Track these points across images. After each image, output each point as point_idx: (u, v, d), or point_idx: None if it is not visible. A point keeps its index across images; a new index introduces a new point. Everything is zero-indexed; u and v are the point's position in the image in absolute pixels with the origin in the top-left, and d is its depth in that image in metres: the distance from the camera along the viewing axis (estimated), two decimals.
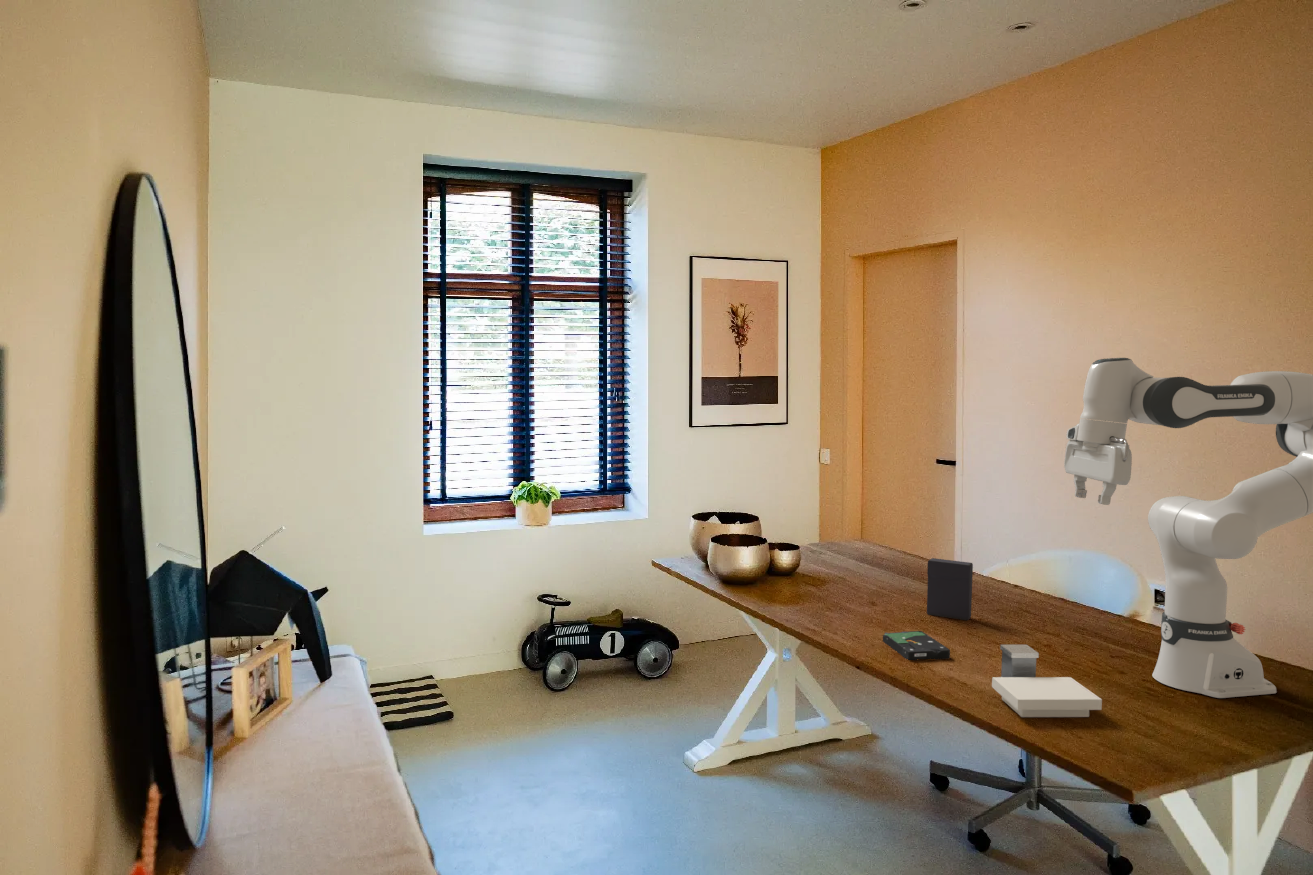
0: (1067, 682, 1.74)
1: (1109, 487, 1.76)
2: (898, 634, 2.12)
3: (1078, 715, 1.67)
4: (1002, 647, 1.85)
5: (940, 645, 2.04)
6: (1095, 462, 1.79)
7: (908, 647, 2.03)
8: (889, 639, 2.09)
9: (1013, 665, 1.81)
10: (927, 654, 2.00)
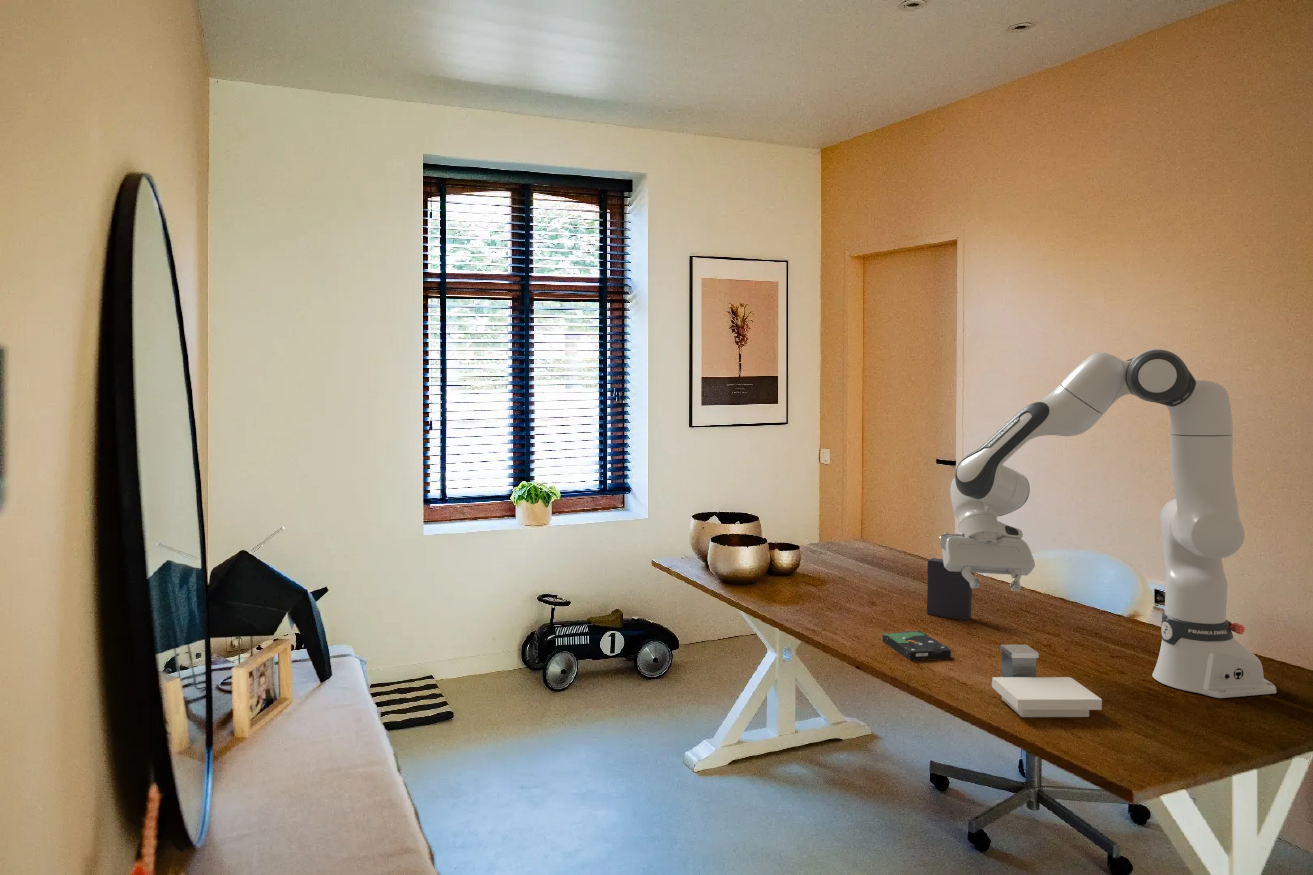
0: (1067, 682, 1.74)
1: (963, 572, 1.95)
2: (898, 634, 2.12)
3: (1078, 715, 1.67)
4: (1002, 647, 1.85)
5: (941, 645, 2.04)
6: None
7: (909, 647, 2.03)
8: (889, 639, 2.09)
9: (1014, 665, 1.81)
10: (929, 654, 2.00)
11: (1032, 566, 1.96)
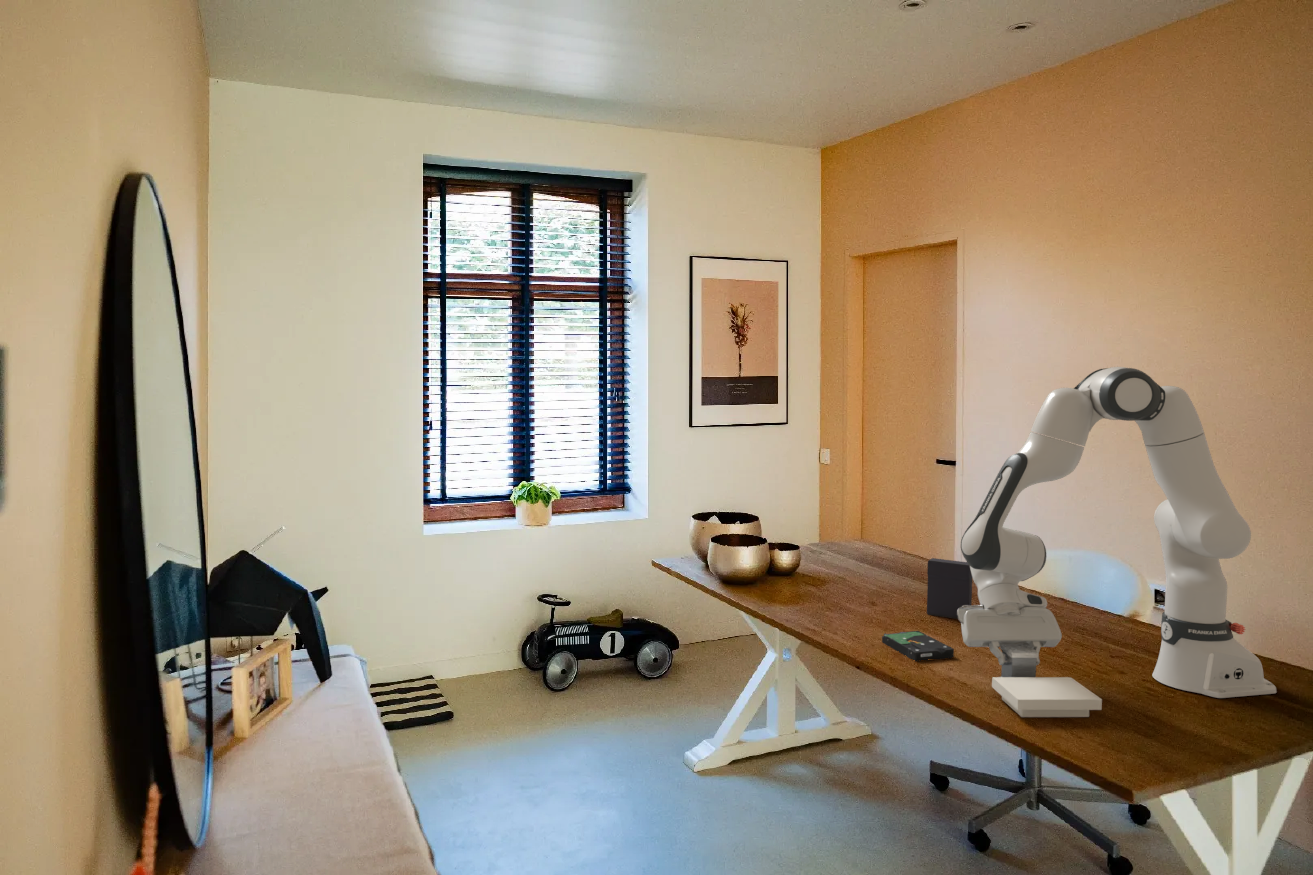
0: (1067, 682, 1.74)
1: (991, 648, 1.85)
2: (897, 635, 2.12)
3: (1078, 715, 1.67)
4: (1002, 647, 1.85)
5: (942, 644, 2.04)
6: None
7: (912, 648, 2.02)
8: (890, 640, 2.09)
9: (1013, 665, 1.81)
10: (933, 654, 2.00)
11: (1058, 637, 1.85)
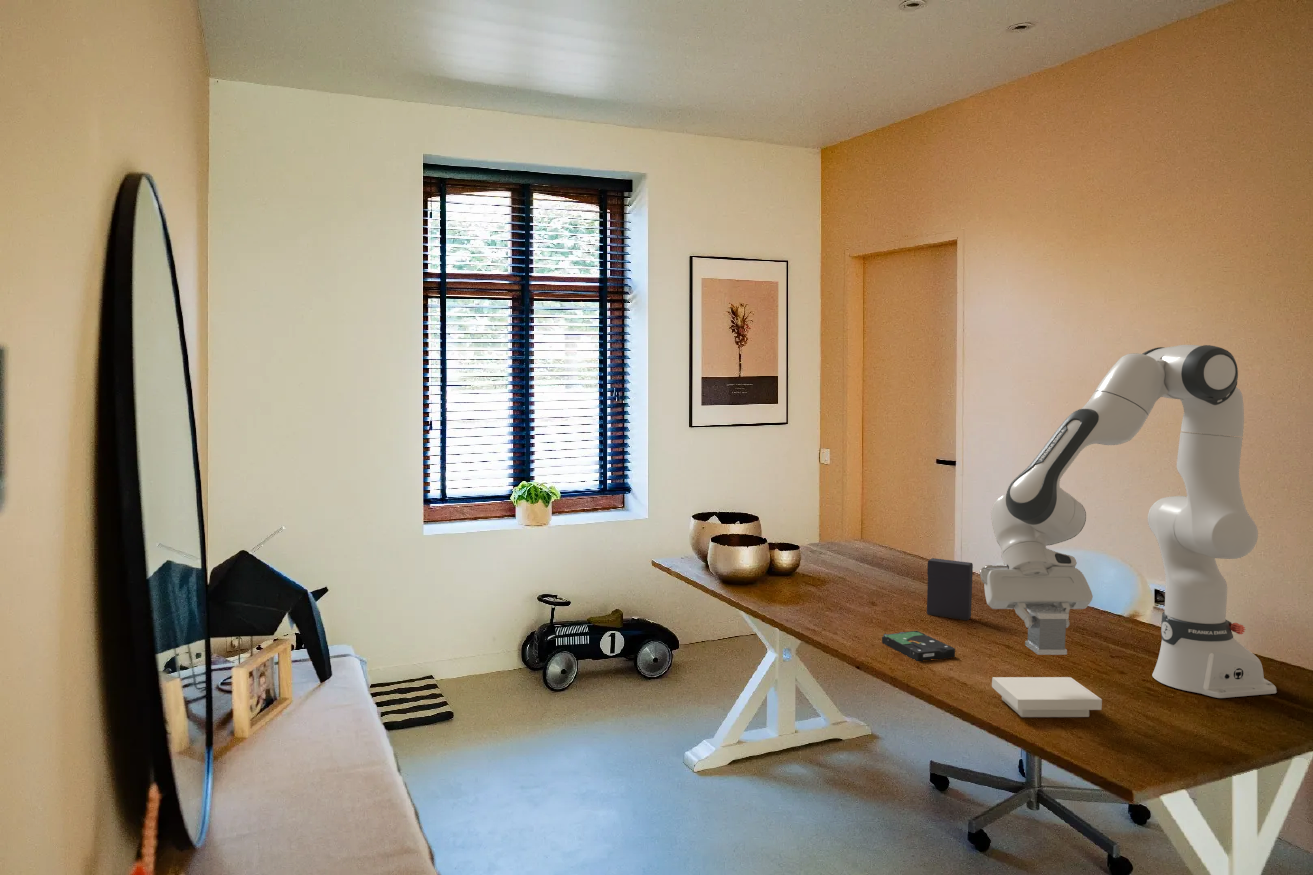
0: (1067, 682, 1.74)
1: (1017, 610, 1.73)
2: (897, 635, 2.11)
3: (1078, 715, 1.67)
4: (1029, 608, 1.72)
5: (943, 644, 2.04)
6: None
7: (914, 648, 2.02)
8: (891, 640, 2.08)
9: (1041, 627, 1.68)
10: (935, 654, 2.00)
11: (1089, 598, 1.72)
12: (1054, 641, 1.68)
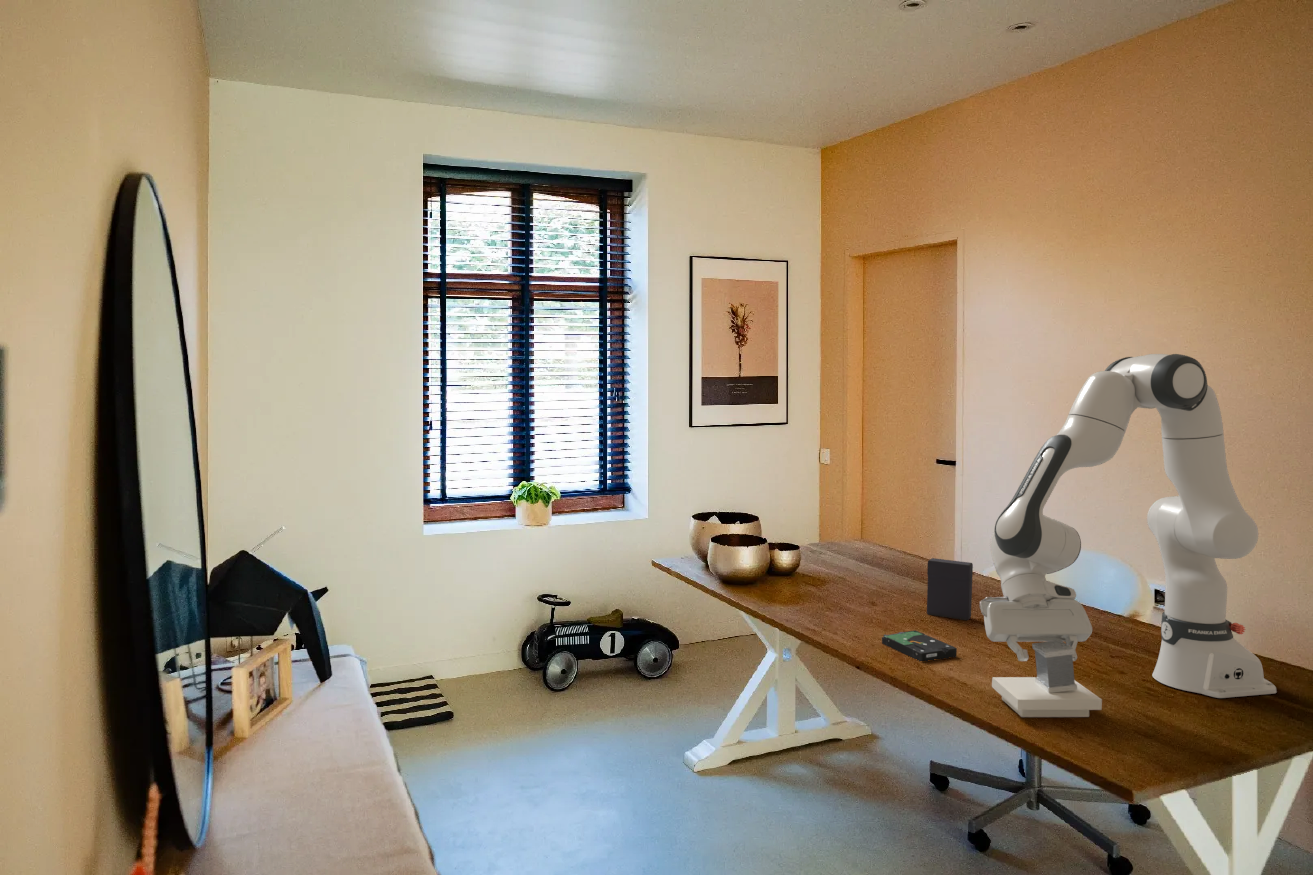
0: None
1: (1009, 643, 1.73)
2: (897, 635, 2.11)
3: (1078, 715, 1.67)
4: (1034, 646, 1.72)
5: (944, 644, 2.05)
6: None
7: (916, 648, 2.02)
8: (892, 641, 2.08)
9: (1049, 665, 1.68)
10: (937, 654, 2.00)
11: (1089, 631, 1.72)
12: (1063, 677, 1.69)
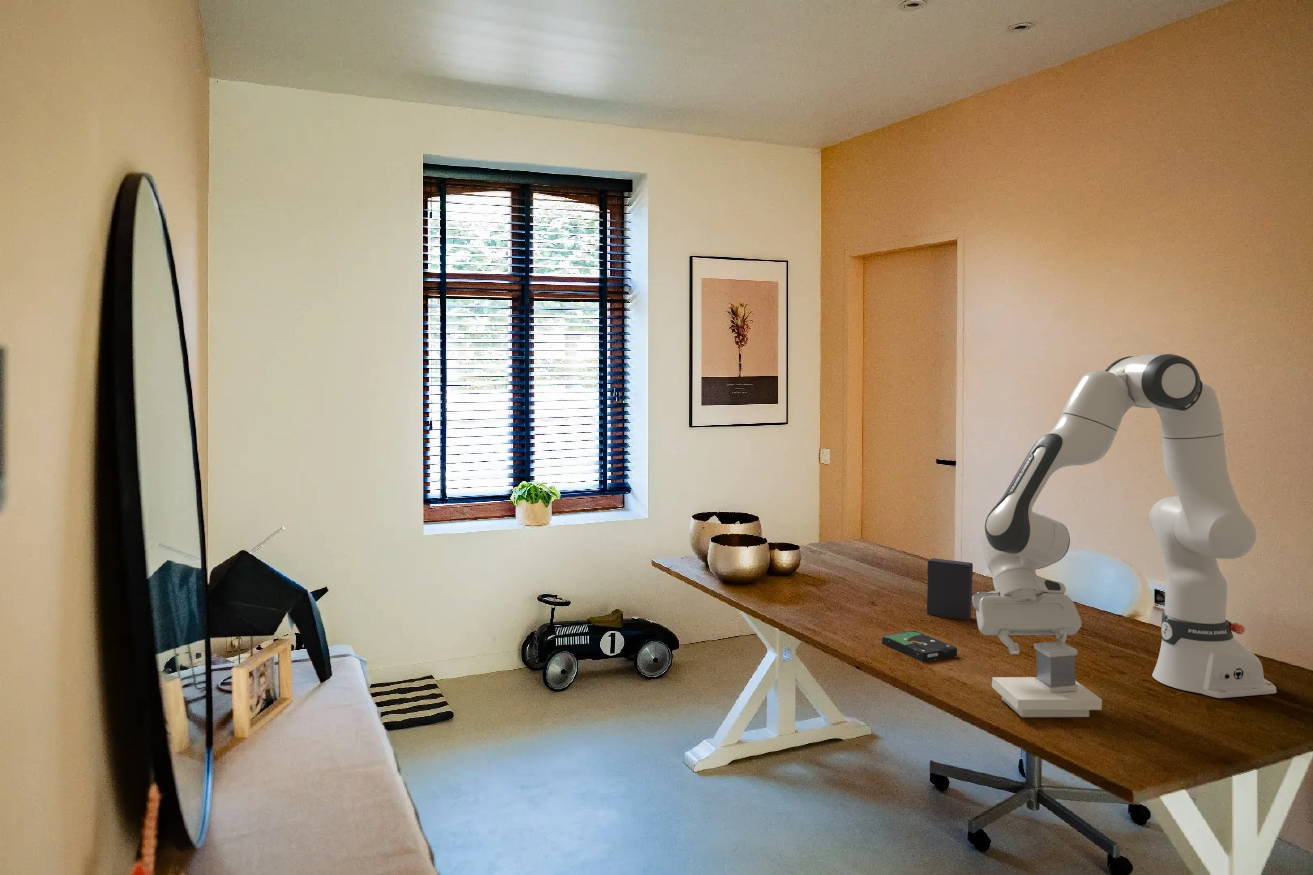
0: None
1: (1000, 636, 1.77)
2: (897, 635, 2.11)
3: (1078, 715, 1.67)
4: (1036, 646, 1.72)
5: (944, 644, 2.05)
6: None
7: (917, 648, 2.02)
8: (892, 641, 2.08)
9: (1052, 665, 1.69)
10: (938, 654, 2.00)
11: (1078, 625, 1.77)
12: (1065, 678, 1.69)
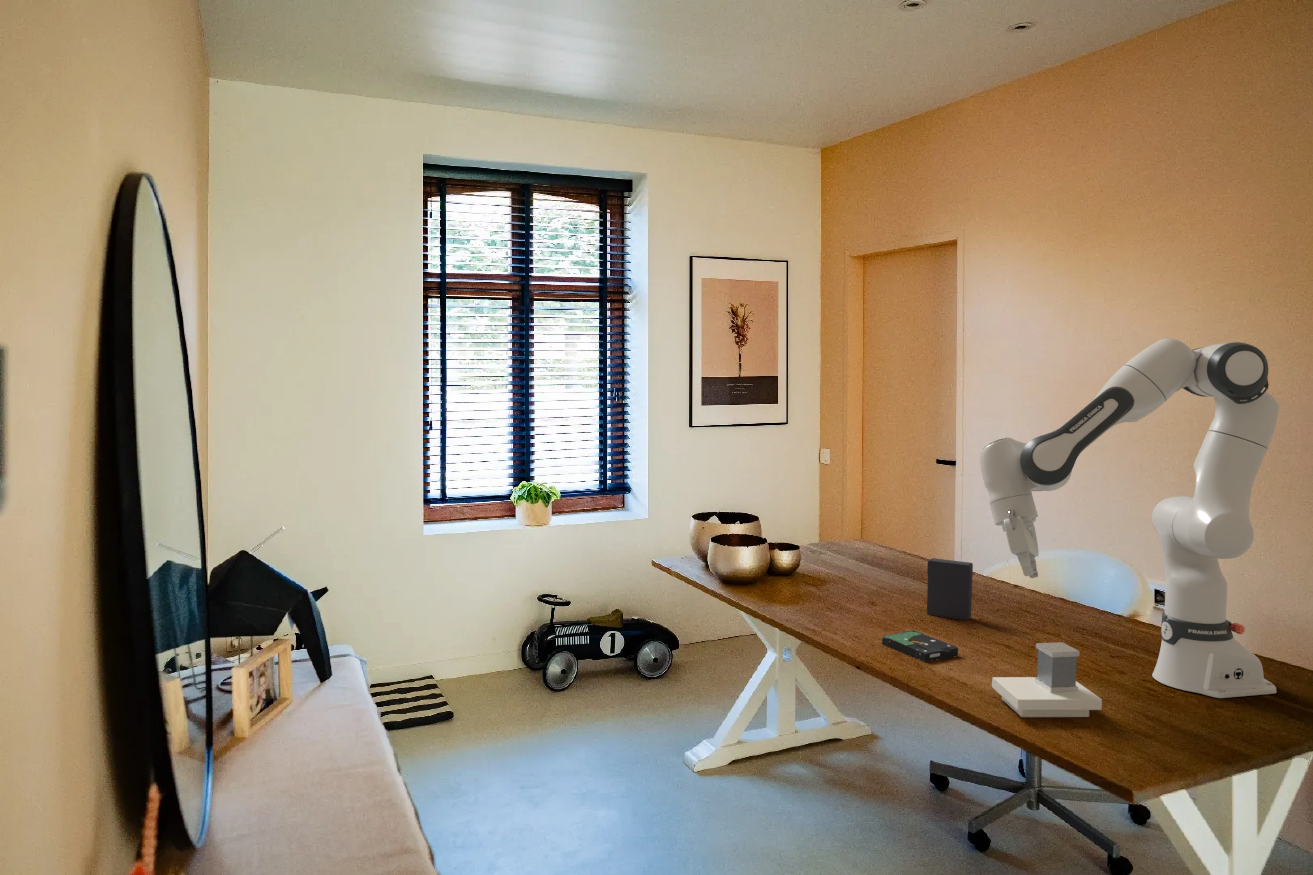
0: None
1: (1021, 558, 1.81)
2: (897, 636, 2.11)
3: (1078, 715, 1.67)
4: (1039, 646, 1.73)
5: (945, 643, 2.05)
6: None
7: (919, 649, 2.02)
8: (893, 642, 2.07)
9: (1054, 665, 1.69)
10: (940, 654, 2.00)
11: (1038, 553, 1.94)
12: (1066, 679, 1.69)
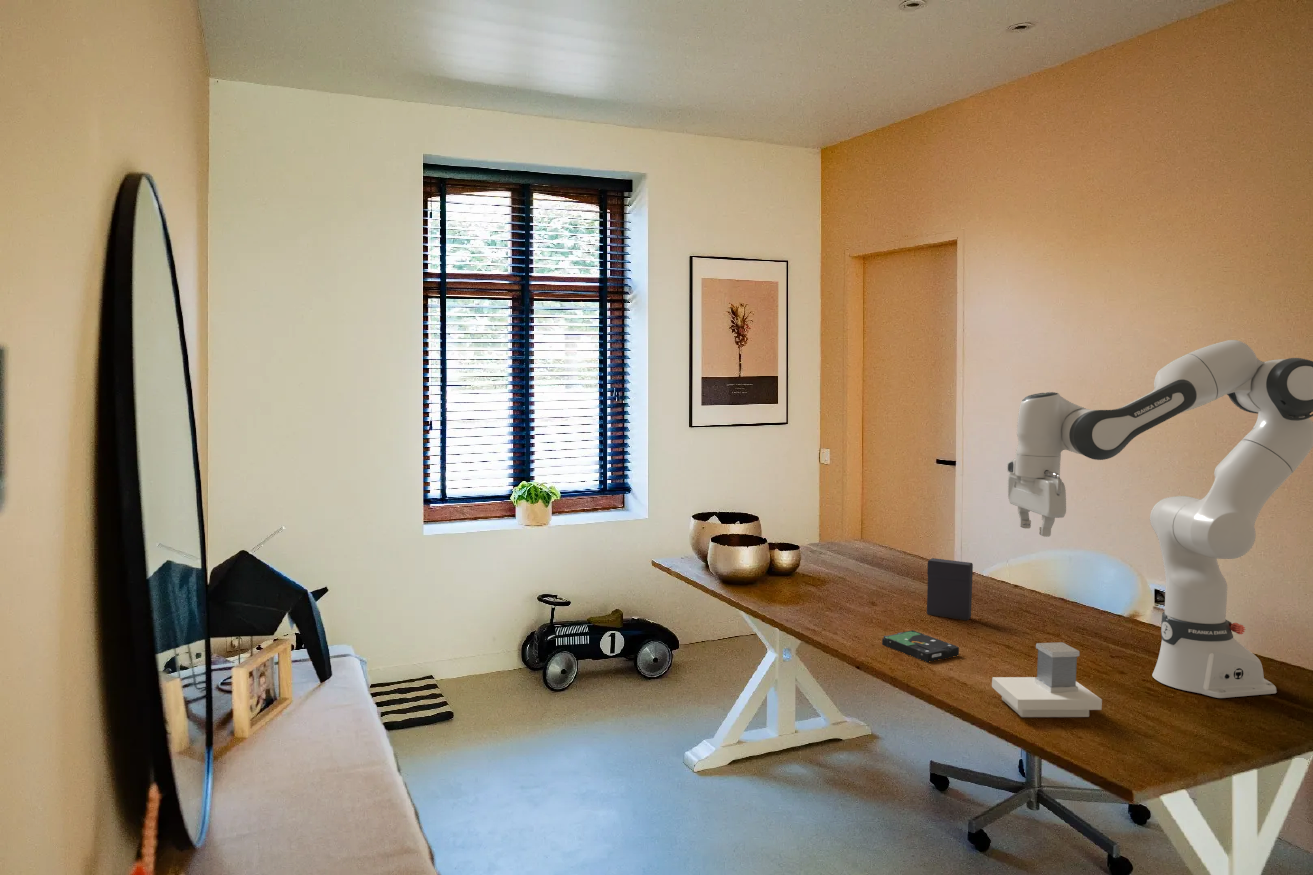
0: None
1: (1048, 520, 1.82)
2: (897, 636, 2.11)
3: (1078, 715, 1.67)
4: (1039, 646, 1.73)
5: (946, 643, 2.05)
6: (1033, 495, 1.86)
7: (920, 649, 2.02)
8: (894, 642, 2.07)
9: (1054, 665, 1.69)
10: (942, 654, 2.00)
11: None
12: (1066, 679, 1.69)
